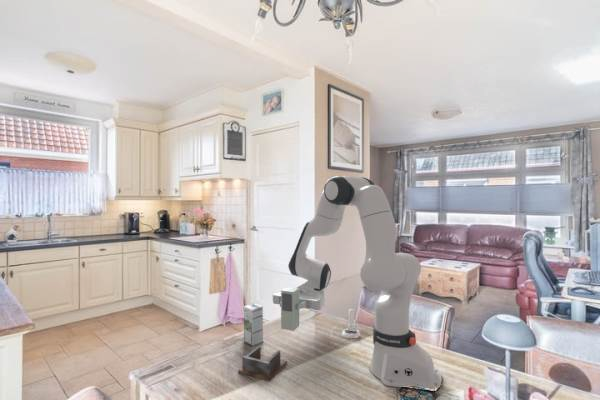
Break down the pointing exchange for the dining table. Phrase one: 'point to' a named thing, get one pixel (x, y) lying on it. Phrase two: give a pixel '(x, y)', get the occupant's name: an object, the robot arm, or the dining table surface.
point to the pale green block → (289, 308)
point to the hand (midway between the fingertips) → (289, 306)
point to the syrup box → (253, 324)
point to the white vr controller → (351, 327)
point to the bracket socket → (261, 365)
